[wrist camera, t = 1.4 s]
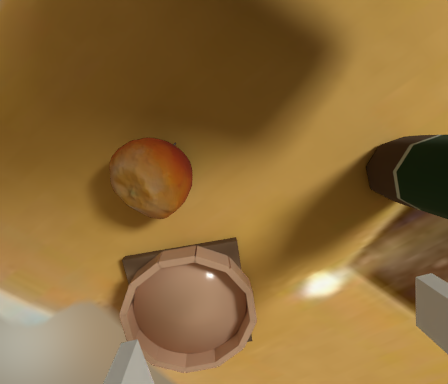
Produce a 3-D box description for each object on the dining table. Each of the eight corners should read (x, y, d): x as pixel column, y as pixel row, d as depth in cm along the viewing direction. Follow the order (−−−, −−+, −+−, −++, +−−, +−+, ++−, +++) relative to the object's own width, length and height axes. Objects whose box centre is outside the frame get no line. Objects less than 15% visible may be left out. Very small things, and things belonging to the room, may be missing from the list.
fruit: (222, 175, 25) (186, 214, 19) (178, 199, 30) (136, 238, 23) (179, 111, 23) (123, 131, 17) (139, 147, 28) (82, 173, 21)
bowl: (114, 259, 27) (105, 271, 25) (243, 237, 27) (246, 246, 25) (144, 362, 30) (139, 381, 28) (258, 341, 31) (262, 358, 28)
